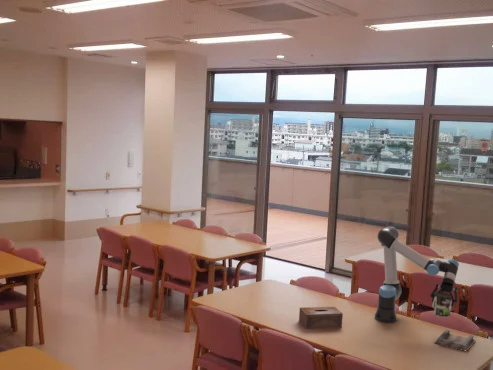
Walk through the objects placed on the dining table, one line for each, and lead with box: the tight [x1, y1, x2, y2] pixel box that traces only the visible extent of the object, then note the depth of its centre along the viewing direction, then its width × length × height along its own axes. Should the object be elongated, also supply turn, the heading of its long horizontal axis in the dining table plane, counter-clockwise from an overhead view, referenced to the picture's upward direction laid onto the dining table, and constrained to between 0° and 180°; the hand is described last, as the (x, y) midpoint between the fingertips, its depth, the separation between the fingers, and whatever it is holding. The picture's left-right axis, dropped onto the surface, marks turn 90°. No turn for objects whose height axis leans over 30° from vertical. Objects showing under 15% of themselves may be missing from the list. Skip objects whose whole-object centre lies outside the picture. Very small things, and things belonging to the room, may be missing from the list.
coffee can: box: [433, 292, 452, 319], centre depth 361 cm, size 10×10×14 cm
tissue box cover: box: [298, 306, 344, 330], centre depth 369 cm, size 26×14×10 cm, turn 103°
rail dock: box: [434, 328, 476, 352], centre depth 348 cm, size 20×22×4 cm
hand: (441, 308), depth 358 cm, fingers closed on coffee can, 10 cm apart
